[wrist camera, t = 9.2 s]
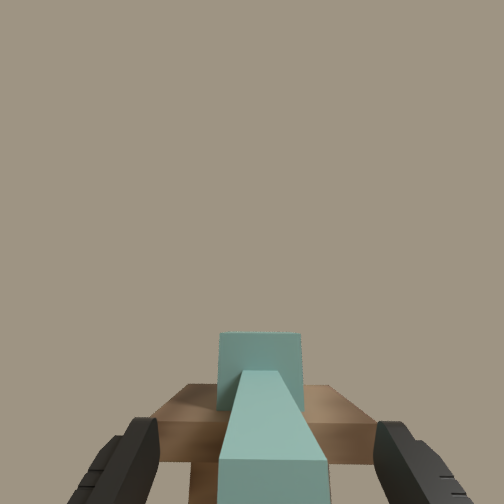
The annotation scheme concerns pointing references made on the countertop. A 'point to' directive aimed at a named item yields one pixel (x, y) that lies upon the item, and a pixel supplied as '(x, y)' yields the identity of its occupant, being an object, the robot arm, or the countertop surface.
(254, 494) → the mallet
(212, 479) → the stand
